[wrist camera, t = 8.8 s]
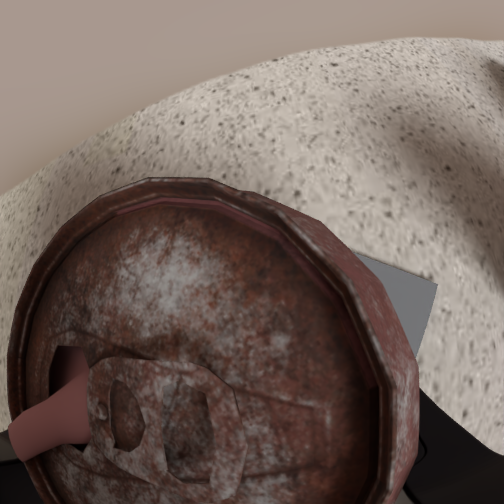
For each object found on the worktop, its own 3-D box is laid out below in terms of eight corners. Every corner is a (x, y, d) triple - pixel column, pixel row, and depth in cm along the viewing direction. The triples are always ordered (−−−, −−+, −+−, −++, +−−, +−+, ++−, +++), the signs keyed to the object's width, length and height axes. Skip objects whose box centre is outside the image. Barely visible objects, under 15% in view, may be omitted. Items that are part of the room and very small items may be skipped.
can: (234, 363, 16) (-24, 337, 4) (321, 291, 16) (181, 80, 4) (296, 446, 13) (107, 613, 1) (392, 375, 13) (555, 469, 1)
